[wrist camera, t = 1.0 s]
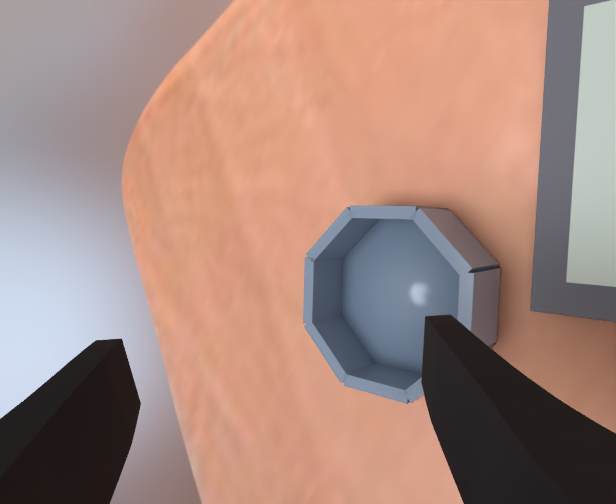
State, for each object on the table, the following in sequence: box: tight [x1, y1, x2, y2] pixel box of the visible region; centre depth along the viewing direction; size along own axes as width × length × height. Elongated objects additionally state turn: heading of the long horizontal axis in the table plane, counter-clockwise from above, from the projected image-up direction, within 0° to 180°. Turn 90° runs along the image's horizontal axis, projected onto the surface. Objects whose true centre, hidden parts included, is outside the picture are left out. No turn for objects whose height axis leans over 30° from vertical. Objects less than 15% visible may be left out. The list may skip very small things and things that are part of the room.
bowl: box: [303, 206, 501, 404], centre depth 24 cm, size 9×9×4 cm
